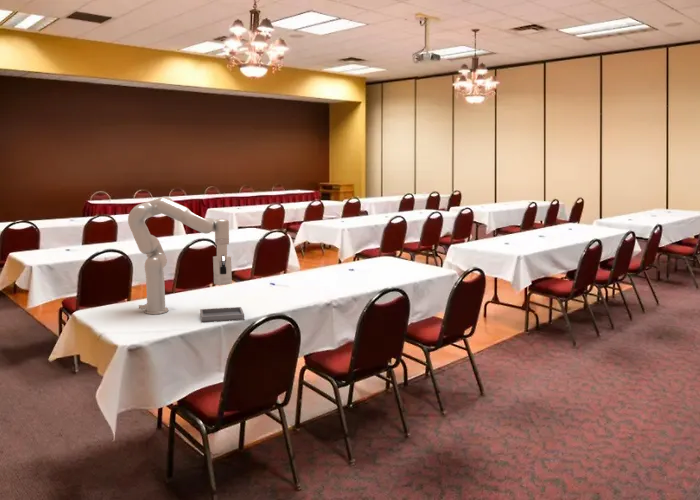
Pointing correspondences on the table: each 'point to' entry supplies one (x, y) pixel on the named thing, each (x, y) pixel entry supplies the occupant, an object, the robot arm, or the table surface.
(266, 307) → the table surface
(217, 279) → the skincare box
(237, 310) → the tray
